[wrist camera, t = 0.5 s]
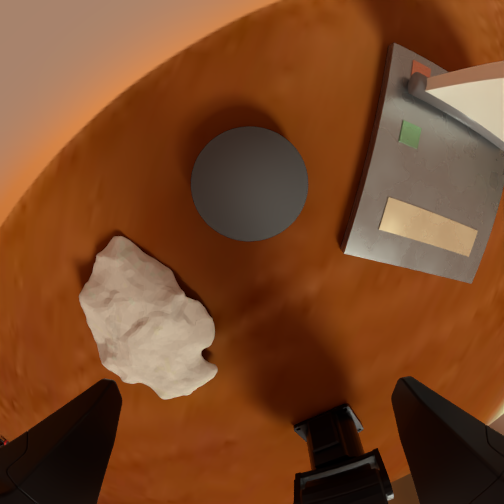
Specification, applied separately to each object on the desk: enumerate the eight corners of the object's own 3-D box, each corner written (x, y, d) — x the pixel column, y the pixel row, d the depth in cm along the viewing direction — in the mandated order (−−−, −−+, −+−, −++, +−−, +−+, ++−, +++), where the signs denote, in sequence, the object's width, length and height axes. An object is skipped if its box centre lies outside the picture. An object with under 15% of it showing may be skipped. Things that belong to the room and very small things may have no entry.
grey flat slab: (465, 279, 22) (472, 284, 21) (339, 248, 21) (344, 254, 20) (507, 120, 17) (514, 120, 16) (388, 46, 16) (394, 42, 14)
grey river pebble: (319, 198, 20) (327, 205, 18) (233, 248, 21) (231, 261, 19) (266, 110, 18) (269, 105, 16) (178, 165, 19) (168, 168, 17)
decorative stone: (240, 367, 25) (169, 211, 22) (244, 393, 22) (160, 215, 18) (139, 398, 25) (61, 262, 21) (132, 423, 21) (39, 274, 18)
